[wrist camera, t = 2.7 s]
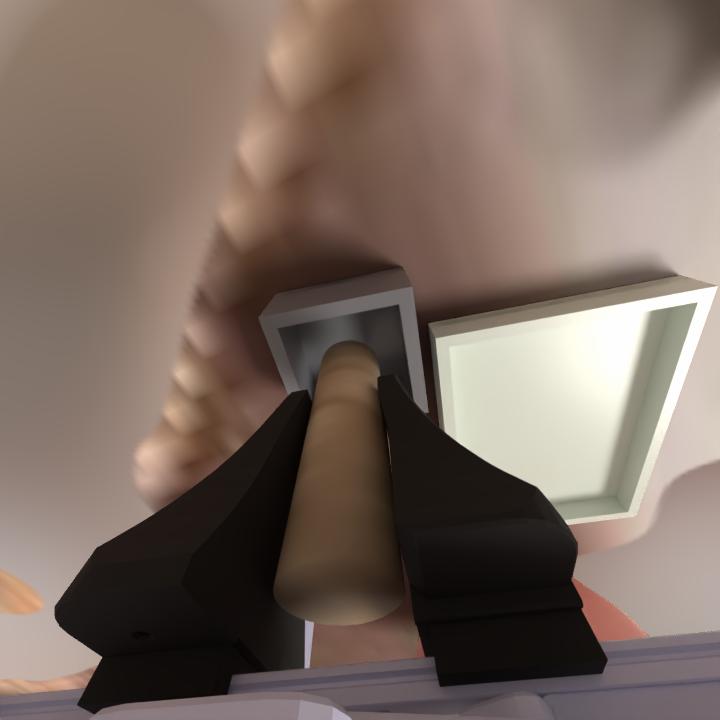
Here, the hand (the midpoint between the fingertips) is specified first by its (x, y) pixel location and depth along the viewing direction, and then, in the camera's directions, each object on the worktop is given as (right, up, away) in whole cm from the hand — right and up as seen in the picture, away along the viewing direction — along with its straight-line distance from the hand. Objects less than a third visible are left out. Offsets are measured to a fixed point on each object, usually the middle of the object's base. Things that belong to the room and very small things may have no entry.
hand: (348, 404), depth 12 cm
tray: (+11, -2, +8) cm, 14 cm away
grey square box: (0, +3, +5) cm, 6 cm away
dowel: (0, +1, +3) cm, 3 cm away
